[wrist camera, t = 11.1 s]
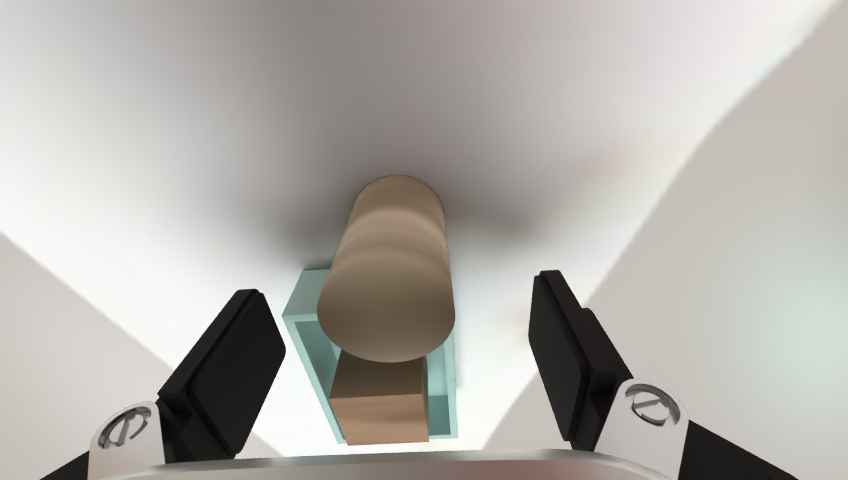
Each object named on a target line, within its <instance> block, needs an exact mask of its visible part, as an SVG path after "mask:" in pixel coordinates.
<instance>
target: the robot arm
mask: <svg viewBox="0 0 848 480" xmlns="http://www.w3.org/2000/svg"><path fill="white" fill-rule="evenodd" d="M528 337H529V343H530V346H531V349H532V352H533V355H534V358H535V360H536V363H537V366H538V369H539V372H540V375H541V378H542V381H543V383H544V387H545V389H546V392H547V395H548V398H549V401H550V404H551V407H552V410H553V412H554V415H555V418H556V421H557V424H558V427H559V430H560V433H561V435H562V438H563V439H564V441H570V444H571V447H572V449H573V450H564V449H505V450H466V451H435V452H404V453H377V454H350V455H324V456H299V457H276V458H253V459H234V458H235V456H236V454H238V453H240V452H241V450H242V449H243V447H244V445H245V443H246V440H247V438H248V436H249V434H250V432H251V429H252V427H253V425H254V423H255V421H256V418H257V416H258V414H259V412H260V410H261V407H262V405H263V403H264V401H265V399H266V397H267V394H268V392H269V390H270V388H271V386H272V383H273V381H274V379H275V377H276V375H277V372H278V370H279V368H280V366H281V364H282V361H283V359H284V357H285V353H286V347H285V344H284V342H283V339H282V337H281V335H280V332H279V330H278V327H277V325H276V323H275V320H274V318H273V315H272V313H271V311H270V308H269V306H268V303H267V301H266V299H265V296H264V294H263V293H259V291H258V290H257V289H244V290H238V291H236V292H235V294H234V295H233V296H232V297H231V299H230V300H229V301H228V303H227V304H226V305H225V306H224V308H223V309H222V310H221V312H220V313H219V314H218V316H217V317H216V318H215V319H214V321H213V322H212V323H211V325H210V326H209V327H208V328H207V330H206V331H205V332H204V334H203V335H202V336H201V337H200V339H199V340H198V341H197V343H196V344H195V345H194V346H193V348H192V349H191V350H190V352H189V353H188V354H187V356H186V357H185V358H184V359H183V361H182V362H181V363H180V365H179V366H178V367H177V368H176V370H175V371H174V372H173V374H172V375H171V376H170V378H169V379H168V380H167V382H166V383H165V384H164V385H163V387H162V388H161V389H160V390H159V392H158V393H157V394H158V395H159V399H158V400H157V401H156V402H155V403H153V402H150V401H143V402H139V403H135V404H132V405H130V406H128V407H125V408H124V409H122V410H120V411H119V412H117V413H115V414H114V415H113V416H112V417H110V418H109V419H108V420H107V421H105V422H104V424H103V425H102V426H101V427H100V428H99V429H98V430H97V432H96V433H95V435H94V436H93V438H92V441H91V444H90V450H89V451H87V452H86V453H84V454H82V455H81V456H79V457H77V458H76V459H74V460H72V461H71V462H69V463H67V464H65V465H64V466H62V467H60V468H59V469H57V470H55V471H54V472H52V473H50V474H49V475H47V476H45V477H44V478H42V479H40V480H798V479H797V478H795V477H794V476H792V475H790V474H789V473H787V472H785V471H783V470H781V469H779V468H777V467H776V466H774V465H772V464H770V463H768V462H767V461H765V460H763V459H761V458H759V457H757V456H755V455H753V454H752V453H750V452H748V451H746V450H744V449H743V448H740V447H739V446H737V445H735V444H733V443H731V442H729V441H728V440H726V439H724V438H722V437H720V436H718V435H717V434H715V433H713V432H711V431H709V430H707V429H706V428H704V427H702V426H700V425H698V424H696V423H694V422H693V421H691V420H689V419H688V412H687V410H686V408H685V406H684V404H683V403H682V402H681V400H680V399H679V398H678V397H677V396H676V395H675V394H674V393H673V392H671V391H670V390H669V389H668V388H666V387H664V386H662V385H660V384H659V383H656V382H653V381H650V380H647V379H640V378H636V379H634V377H633V376H632V374H631V373H630V371H629V369H628V368H627V366H626V364H625V363H624V361H623V360H622V358H621V356H620V355H619V353H618V352H617V350H616V348H615V347H614V345H613V344H612V342H611V341H610V339H609V338H608V336H607V334H606V332H605V331H604V329H603V328H602V326H601V325H600V323H599V321H598V320H597V318H596V316H595V315H594V313H593V312H592V311H591V310H590V309H589V308H581V306H580V304H579V303H578V301H577V299H576V297H575V296H574V294H573V292H572V291H571V289H570V287H569V286H568V284H567V282H566V280H565V279H564V277H563V275H562V274H561V272H560V271H559V270H548V271H541V272H540V274H539V275H538V276H535V277H534V284H533V293H532V303H531V312H530V322H529V332H528Z"/></svg>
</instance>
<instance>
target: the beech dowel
mask: <svg viewBox="0 0 848 480" xmlns="http://www.w3.org/2000/svg"><path fill="white" fill-rule="evenodd" d="M317 317H318V321H319V324H320V326H321V328H322V330H323V332H324V333H325V335H326V336H327V337H328V338H329V339H330V340H331V341H332V342H333V343H334V344H335V345H336V346H338V347H339V348H341V349H342V350H344V351H346V352H348V353H350V354H352V355H354V356H357V357H360V358H363V359H366V360H371V361H377V362H403V361H409V360H413V359H416V358H420V357H422V356H425V355H427V354H429V353H431V352H432V351H434V350H435V349H437V348H438V347H439V346H441V345H442V344H443V343H444V342H445V340H446V339H447V338H448V337H449V335H450V333H451V331H452V329H453V327H454V322H455V309H454V300H453V291H452V282H451V274H450V265H449V256H448V247H447V238H446V229H445V221H444V212H443V207H442V204H441V202H440V199H439V198H438V196H437V195H436V193H435V192H434V191H433V190H432V189H431V188H430V187H429V186H428V185H426V184H425V183H423V182H421V181H419V180H417V179H415V178H412V177H408V176H402V175H392V176H385V177H382V178H379V179H377V180H374V181H373V182H371V183H369V184H368V185H367V186H366V187H365V188H364V189H363V190H362V191H361V192H360V193H359V195H358V197H357V199H356V201H355V203H354V206H353V209H352V211H351V214H350V217H349V219H348V222H347V225H346V227H345V230H344V233H343V235H342V238H341V241H340V243H339V246H338V249H337V251H336V254H335V257H334V259H333V262H332V265H331V267H330V270H329V273H328V275H327V278H326V281H325V283H324V286H323V289H322V291H321V294H320V297H319V300H318V303H317Z"/></svg>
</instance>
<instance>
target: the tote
mask: <svg viewBox="0 0 848 480" xmlns="http://www.w3.org/2000/svg"><path fill="white" fill-rule="evenodd" d="M329 270H330V269H317V270H303V272H302V274H301V276H300V278H299V280H298V282H297V284H296V287H295V289H294V291H293V293H292V295H291V297H290V299H289V301H288V303H287V305H286V307H285V309H284V311H283V314H282V318H283V320H284V323H285V325H286V327H287V329H288V332H289V334H290V336H291V338H292V341H293V343H294V345H295V347H296V350H297V352H298V354H299V356H300V359H301V361H302V363H303V365H304V368H305V370H306V372H307V374H308V377H309V379H310V381H311V384H312V386H313V388H314V390H315V393H316V395H317V397H318V399H319V402H320V404H321V406H322V408H323V411H324V413H325V415H326V417H327V420H328V422H329V424H330V426H331V429H332V431H333V433H334V435H335V438H336V440H337V442H338V444H340V443H347V442H346V439H345V437H344V435H343V432H342V430H341V427H340V425H339V422H338V420H337V418H336V415H335V413H334V410H333V408H332V405H331V403H330V401H329V396H330V392H331V388H332V384H333V380H334V376H335V372H336V368H337V364H338V360H339V356H340V352H341V348H339V347H338V346H336V345H335V344H334V343H333V342H332V341H331V340H330V339H329V338H328V337H327V336H326V335H325V333H324V332H323V330H322V328H321V326H320V324H319V321H318V317H317V303H318V300H319V297H320V294H321V291H322V289H323V286H324V283H325V281H326V278H327V275H328V273H329ZM426 359H427V368H428V412H429V439H445V438H458V429H457V410H456V390H455V371H454V352H453V333H452V331H451V333H450V335H449V337H448V338H447V339H446V340H445V342H444V343H443V344H442V345H441V346H439V347H438V348H437V349H435V350H434V351H432V352H431V353H429V354H427V355H426Z"/></svg>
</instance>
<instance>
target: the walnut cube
mask: <svg viewBox="0 0 848 480" xmlns="http://www.w3.org/2000/svg"><path fill="white" fill-rule="evenodd" d="M329 401H330V403H331V405H332V408H333V410H334V413H335V415H336V418H337V420H338V422H339V425H340V427H341V430H342V432H343V435H344V437H345V439H346V442H347V444H348V446H350V445H371V444H393V443H414V442H429V412H428V368H427V359H426V355H425V356H422V357H420V358H416V359H413V360H409V361H403V362H377V361H371V360H366V359H363V358H360V357H357V356H354V355H352V354H350V353H348V352H346V351H344V350H342V349H341V352H340V356H339V360H338V364H337V368H336V372H335V376H334V380H333V384H332V388H331V392H330V396H329Z"/></svg>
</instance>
